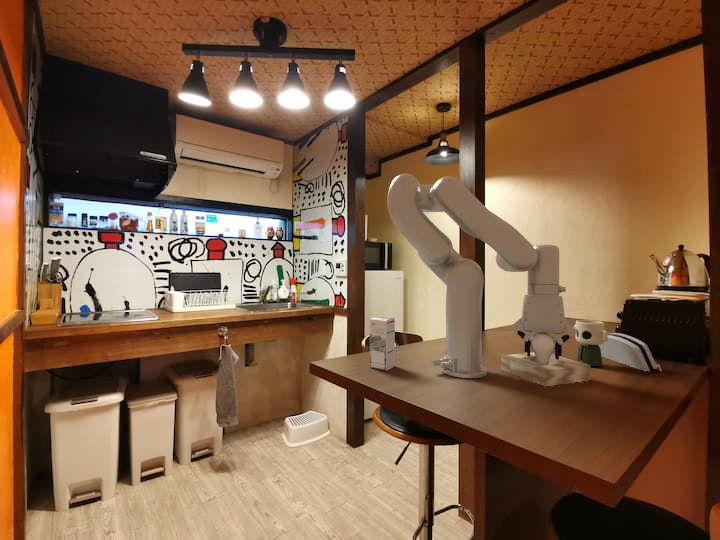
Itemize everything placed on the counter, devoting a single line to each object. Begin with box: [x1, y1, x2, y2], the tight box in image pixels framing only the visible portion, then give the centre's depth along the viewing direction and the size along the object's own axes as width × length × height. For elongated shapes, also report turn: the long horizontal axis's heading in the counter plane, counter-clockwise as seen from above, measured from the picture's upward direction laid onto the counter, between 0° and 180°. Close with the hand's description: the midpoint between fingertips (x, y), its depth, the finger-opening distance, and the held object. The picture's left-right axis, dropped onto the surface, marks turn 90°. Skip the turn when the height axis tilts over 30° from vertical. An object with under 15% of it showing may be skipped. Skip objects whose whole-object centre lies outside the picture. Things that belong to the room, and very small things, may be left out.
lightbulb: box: [530, 332, 556, 365], centre depth 90 cm, size 6×6×11 cm
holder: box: [500, 351, 591, 387], centre depth 90 cm, size 15×15×4 cm
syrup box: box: [368, 316, 396, 371], centre depth 97 cm, size 6×6×14 cm
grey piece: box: [598, 332, 663, 372], centre depth 101 cm, size 17×5×10 cm, turn 2°
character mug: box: [573, 319, 609, 367], centre depth 99 cm, size 11×7×13 cm, turn 13°
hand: (542, 356), depth 90 cm, fingers closed on lightbulb, 6 cm apart
